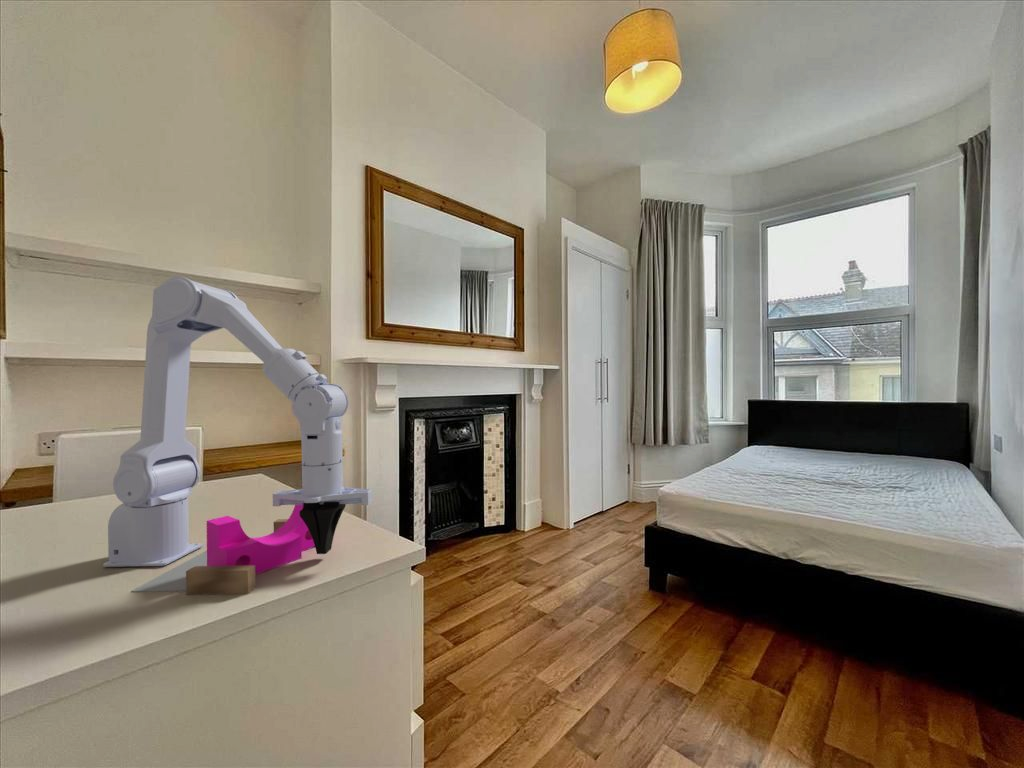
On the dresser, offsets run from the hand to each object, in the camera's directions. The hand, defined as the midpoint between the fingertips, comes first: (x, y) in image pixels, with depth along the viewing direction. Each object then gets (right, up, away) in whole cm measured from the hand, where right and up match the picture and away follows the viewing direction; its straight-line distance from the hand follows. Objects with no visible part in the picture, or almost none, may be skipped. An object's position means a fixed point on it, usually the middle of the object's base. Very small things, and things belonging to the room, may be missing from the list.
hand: (324, 551), depth 64 cm
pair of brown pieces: (-9, -1, 0) cm, 9 cm away
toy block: (-8, -2, 0) cm, 8 cm away
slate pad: (-17, -2, 0) cm, 17 cm away
